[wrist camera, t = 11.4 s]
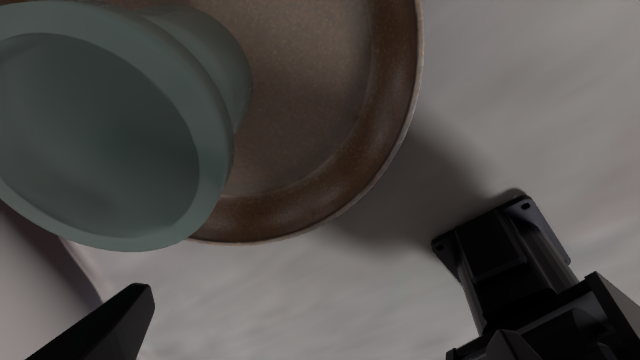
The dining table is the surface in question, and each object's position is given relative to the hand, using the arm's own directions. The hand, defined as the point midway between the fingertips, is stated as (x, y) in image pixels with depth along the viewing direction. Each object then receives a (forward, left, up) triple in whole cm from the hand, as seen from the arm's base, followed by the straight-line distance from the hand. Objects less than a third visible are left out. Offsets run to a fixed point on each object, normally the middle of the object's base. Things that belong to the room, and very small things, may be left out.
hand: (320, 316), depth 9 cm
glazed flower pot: (+7, +3, -9) cm, 12 cm away
